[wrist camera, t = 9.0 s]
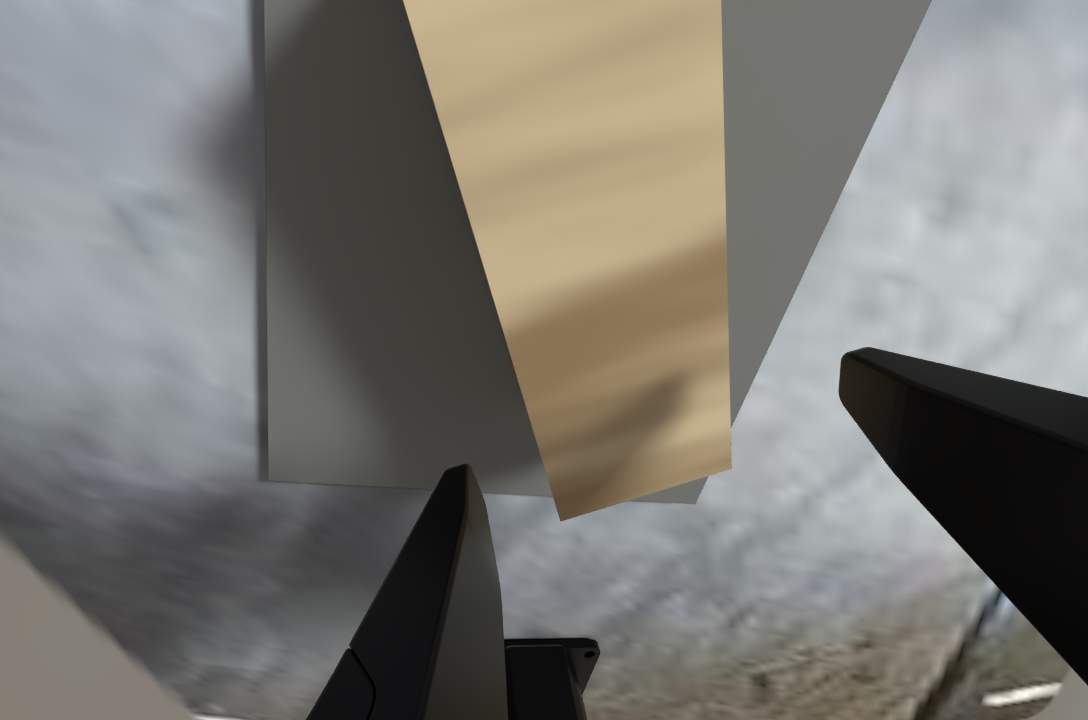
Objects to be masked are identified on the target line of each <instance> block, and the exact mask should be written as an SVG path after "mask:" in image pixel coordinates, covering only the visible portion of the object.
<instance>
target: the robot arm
mask: <svg viewBox="0 0 1088 720" xmlns="http://www.w3.org/2000/svg"><path fill="white" fill-rule="evenodd" d="M839 397H840V400H841V402H842V404H843V405H844V407H845V408H846V410H847V411H848V412H849V414H850V415H851V416H852V418H853V419H854V421H855V422H856V423H857V425H858V426H859V427H860V429H861V430H862V431H863V433H864V434H865V435H866V437H867V438H868V439H869V441H870V442H871V444H872V445H873V446H874V448H875V449H876V450H877V452H878V453H879V454H880V456H881V457H882V458H883V460H884V461H885V462H886V464H887V465H888V466H889V467H890V469H891V470H892V471H893V473H894V474H895V475H896V476H897V477H898V478H899V479H900V481H901V482H902V483H903V484H904V485H905V486H906V487H907V488H908V490H909V491H910V492H911V493H912V494H913V495H914V496H915V497H916V498H917V499H918V500H919V502H920V503H921V504H922V505H923V506H924V507H925V508H926V509H927V510H928V511H929V513H930V514H931V515H932V516H933V517H934V518H935V519H936V520H937V521H938V522H939V523H940V525H941V526H942V527H943V528H944V529H945V530H946V531H947V532H948V533H949V534H950V535H951V537H952V538H953V539H954V540H955V541H956V542H957V543H958V544H959V545H960V546H961V547H962V549H963V550H964V551H965V552H966V553H967V554H968V555H969V556H970V557H971V558H972V560H973V561H974V562H975V563H976V564H977V565H978V566H979V567H980V568H981V569H982V570H983V572H984V573H985V574H986V575H987V576H988V577H989V578H990V579H991V580H992V581H993V582H994V584H995V585H996V586H997V587H998V588H999V589H1000V590H1001V591H1002V592H1003V593H1004V595H1005V596H1006V597H1007V598H1008V599H1009V600H1010V601H1011V602H1012V603H1013V604H1014V605H1015V607H1016V608H1017V609H1018V610H1019V611H1020V612H1021V613H1022V614H1023V615H1024V616H1025V617H1026V619H1027V620H1028V621H1029V622H1030V623H1031V624H1032V625H1033V626H1034V627H1035V628H1036V629H1037V631H1038V632H1039V633H1040V634H1041V635H1042V636H1043V637H1044V638H1045V639H1046V640H1047V642H1048V643H1049V644H1050V645H1051V646H1052V647H1053V648H1054V649H1055V650H1056V651H1057V652H1058V654H1059V655H1060V656H1061V657H1062V658H1063V659H1064V660H1065V661H1066V662H1067V663H1068V664H1069V666H1070V667H1071V668H1072V669H1073V670H1074V671H1075V672H1076V673H1077V674H1078V675H1079V677H1080V678H1081V679H1082V680H1083V681H1084V682H1085V683H1086V684H1087V685H1088V397H1083V396H1079V395H1075V394H1070V393H1066V392H1062V391H1057V390H1053V389H1049V388H1044V387H1040V386H1036V385H1031V384H1027V383H1023V382H1018V381H1014V380H1010V379H1005V378H1001V377H997V376H992V375H988V374H984V373H979V372H975V371H971V370H966V369H962V368H958V367H953V366H949V365H945V364H940V363H936V362H932V361H927V360H923V359H919V358H914V357H910V356H906V355H901V354H897V353H893V352H888V351H884V350H880V349H875V348H871V347H865V348H861V349H857V350H854V351H850V352H847V353H846V354H844V355H843V357H842V359H841V367H840V379H839ZM349 646H350V648H351V649H352V650H351V649H350V648H348V649H346V651H345V652H344V654H343V656H342V658H341V660H340V661H339V663H338V665H337V667H336V669H335V671H334V672H333V674H332V676H331V678H330V679H329V681H328V683H327V685H326V686H325V688H324V690H323V691H322V693H321V695H320V697H319V698H318V700H317V702H316V703H315V705H314V707H313V709H312V710H311V712H310V714H309V715H308V717H307V718H306V720H587V716H586V712H585V707H584V703H583V698H582V694H583V692H584V689H585V687H586V685H587V682H588V680H589V678H590V676H591V673H592V671H593V669H594V666H595V664H596V662H597V660H598V657H599V655H600V649H599V646H598V643H597V641H595V640H591V639H581V640H521V641H504V634H503V616H502V601H501V590H500V583H499V576H498V570H497V565H496V559H495V554H494V548H493V543H492V537H491V532H490V526H489V520H488V515H487V509H486V505H485V501H484V498H483V495H482V493H481V490H480V488H479V485H478V483H477V480H476V478H475V475H474V473H473V470H472V468H471V466H470V465H469V464H462V465H458V466H455V467H451V468H448V469H446V470H445V471H444V473H443V475H442V476H441V478H440V480H439V482H438V484H437V485H436V487H435V489H434V491H433V493H432V495H431V496H430V498H429V500H428V502H427V504H426V505H425V507H424V509H423V511H422V513H421V515H420V516H419V518H418V520H417V522H416V524H415V525H414V527H413V529H412V531H411V533H410V535H409V536H408V538H407V540H406V542H405V544H404V545H403V547H402V549H401V551H400V553H399V555H398V556H397V558H396V560H395V562H394V564H393V565H392V567H391V569H390V571H389V573H388V575H387V576H386V578H385V580H384V582H383V584H382V585H381V587H380V589H379V591H378V593H377V595H376V596H375V598H374V600H373V602H372V604H371V605H370V607H369V609H368V611H367V613H366V615H365V616H364V618H363V620H362V622H361V624H360V625H359V627H358V629H357V631H356V633H355V635H354V636H353V638H352V640H351V642H350V644H349Z"/></svg>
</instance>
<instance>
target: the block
mask: <svg viewBox="0 0 1088 720" xmlns="http://www.w3.org/2000/svg"><path fill="white" fill-rule="evenodd" d="M403 2H404V5H405V9H406V12H407V15H408V18H409V22H410V25H411V28H412V32H413V35H414V38H415V42H416V45H417V48H418V51H419V55H420V58H421V61H422V65H423V68H424V71H425V75H426V78H427V81H428V85H429V88H430V91H431V94H432V98H433V101H434V104H435V108H436V111H437V114H438V118H439V121H440V124H441V128H442V131H443V134H444V137H445V141H446V144H447V147H448V151H449V154H450V157H451V161H452V164H453V167H454V171H455V174H456V177H457V180H458V184H459V187H460V190H461V194H462V197H463V200H464V204H465V207H466V210H467V213H468V217H469V220H470V223H471V227H472V230H473V233H474V237H475V240H476V243H477V247H478V250H479V253H480V256H481V260H482V263H483V266H484V270H485V273H486V276H487V280H488V283H489V286H490V290H491V293H492V296H493V299H494V303H495V306H496V309H497V313H498V316H499V319H500V323H501V326H502V329H503V332H504V336H505V339H506V342H507V346H508V349H509V352H510V356H511V359H512V362H513V366H514V369H515V372H516V375H517V379H518V382H519V385H520V389H521V392H522V395H523V399H524V402H525V405H526V409H527V412H528V415H529V418H530V422H531V425H532V428H533V432H534V435H535V438H536V442H537V445H538V448H539V451H540V455H541V458H542V461H543V465H544V468H545V471H546V475H547V478H548V481H549V485H550V488H551V491H552V494H553V498H554V501H555V504H556V508H557V511H558V514H559V518H560V521H563V520H567V519H570V518H573V517H576V516H580V515H583V514H586V513H589V512H593V511H596V510H599V509H602V508H606V507H609V506H612V505H615V504H619V503H622V502H625V501H628V500H632V499H635V498H638V497H641V496H645V495H648V494H651V493H654V492H657V491H661V490H664V489H667V488H670V487H674V486H677V485H680V484H683V483H687V482H690V481H693V480H696V479H700V478H703V477H706V476H709V475H713V474H716V473H719V472H722V471H726V470H729V469H732V465H731V419H730V374H729V329H728V284H727V239H726V193H725V148H724V103H723V58H722V12H721V0H403Z"/></svg>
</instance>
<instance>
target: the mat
mask: <svg viewBox="0 0 1088 720" xmlns="http://www.w3.org/2000/svg"><path fill="white" fill-rule="evenodd" d="M931 1H932V0H721V12H722V58H723V103H724V148H725V193H726V239H727V284H728V329H729V374H730V419H731V427H732V425H733V423H734V421H735V419H736V416H737V414H738V412H739V410H740V408H741V406H742V404H743V401H744V399H745V397H746V395H747V393H748V391H749V389H750V387H751V384H752V382H753V380H754V378H755V376H756V374H757V372H758V369H759V367H760V365H761V363H762V361H763V359H764V357H765V355H766V352H767V350H768V348H769V346H770V344H771V342H772V340H773V338H774V335H775V333H776V331H777V329H778V327H779V325H780V323H781V320H782V318H783V316H784V314H785V312H786V310H787V308H788V306H789V303H790V301H791V299H792V297H793V295H794V293H795V291H796V289H797V286H798V284H799V282H800V280H801V278H802V276H803V274H804V271H805V269H806V267H807V265H808V263H809V261H810V259H811V257H812V254H813V252H814V250H815V248H816V246H817V244H818V242H819V240H820V237H821V235H822V233H823V231H824V229H825V227H826V225H827V222H828V220H829V218H830V216H831V214H832V212H833V210H834V208H835V205H836V203H837V201H838V199H839V197H840V195H841V193H842V191H843V188H844V186H845V184H846V182H847V180H848V178H849V176H850V173H851V171H852V169H853V167H854V165H855V163H856V161H857V159H858V156H859V154H860V152H861V150H862V148H863V146H864V144H865V142H866V139H867V137H868V135H869V133H870V131H871V129H872V127H873V124H874V122H875V120H876V118H877V116H878V114H879V112H880V110H881V107H882V105H883V103H884V101H885V99H886V97H887V95H888V93H889V90H890V88H891V86H892V84H893V82H894V80H895V78H896V75H897V73H898V71H899V69H900V67H901V65H902V63H903V61H904V58H905V56H906V54H907V52H908V50H909V48H910V46H911V44H912V41H913V39H914V37H915V35H916V33H917V31H918V29H919V26H920V24H921V22H922V20H923V18H924V16H925V14H926V12H927V9H928V7H929V5H930V3H931ZM264 39H265V148H266V256H267V365H268V474H269V481H281V482H299V483H318V484H336V485H354V486H373V487H391V488H409V489H428V490H434V489H435V487H436V485H437V484H438V482H439V480H440V478H441V476H442V475H443V473H444V471H445V470H446V469H448V468H451V467H455V466H458V465H462V464H469V465H470V466H471V468H472V470H473V473H474V475H475V478H476V480H477V483H478V485H479V488H480V490H481V492H483V493H501V494H520V495H538V496H553V494H552V491H551V488H550V485H549V481H548V478H547V475H546V471H545V468H544V465H543V461H542V458H541V455H540V451H539V448H538V445H537V442H536V438H535V435H534V432H533V428H532V425H531V422H530V418H529V415H528V412H527V409H526V405H525V402H524V399H523V395H522V392H521V389H520V385H519V382H518V379H517V375H516V372H515V369H514V366H513V362H512V359H511V356H510V352H509V349H508V346H507V342H506V339H505V336H504V332H503V329H502V326H501V323H500V319H499V316H498V313H497V309H496V306H495V303H494V299H493V296H492V293H491V290H490V286H489V283H488V280H487V276H486V273H485V270H484V266H483V263H482V260H481V256H480V253H479V250H478V247H477V243H476V240H475V237H474V233H473V230H472V227H471V223H470V220H469V217H468V213H467V210H466V207H465V204H464V200H463V197H462V194H461V190H460V187H459V184H458V180H457V177H456V174H455V171H454V167H453V164H452V161H451V157H450V154H449V151H448V147H447V144H446V141H445V137H444V134H443V131H442V128H441V124H440V121H439V118H438V114H437V111H436V108H435V104H434V101H433V98H432V94H431V91H430V88H429V85H428V81H427V78H426V75H425V71H424V68H423V65H422V61H421V58H420V55H419V51H418V48H417V45H416V42H415V38H414V35H413V32H412V28H411V25H410V22H409V18H408V15H407V12H406V9H405V5H404V2H403V0H264ZM707 478H708V476H706V477H703V478H700V479H696V480H693V481H690V482H687V483H683V484H680V485H677V486H674V487H670V488H667V489H664V490H661V491H657V492H654V493H651V494H648V495H645V496H641V497H638V498H635V499H632V500H630V501H648V502H667V503H685V504H696V502H697V499H698V497H699V495H700V493H701V491H702V489H703V487H704V485H705V482H706V480H707Z"/></svg>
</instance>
